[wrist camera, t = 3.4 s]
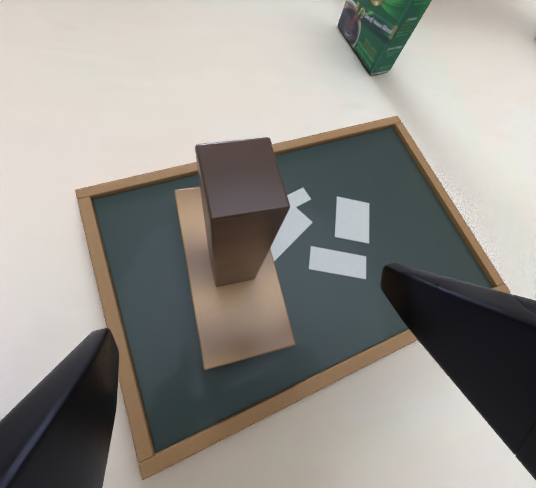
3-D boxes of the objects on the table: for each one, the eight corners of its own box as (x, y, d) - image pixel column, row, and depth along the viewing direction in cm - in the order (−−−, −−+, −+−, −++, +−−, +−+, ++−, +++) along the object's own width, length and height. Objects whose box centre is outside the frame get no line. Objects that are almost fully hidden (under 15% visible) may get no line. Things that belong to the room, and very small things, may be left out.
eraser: (286, 345, 19) (385, 342, 7) (206, 367, 17) (180, 402, 6) (248, 197, 22) (278, 41, 11) (179, 208, 21) (131, 44, 10)
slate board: (146, 473, 16) (142, 480, 15) (81, 196, 20) (74, 189, 19) (499, 294, 23) (510, 292, 22) (392, 122, 28) (397, 115, 27)
